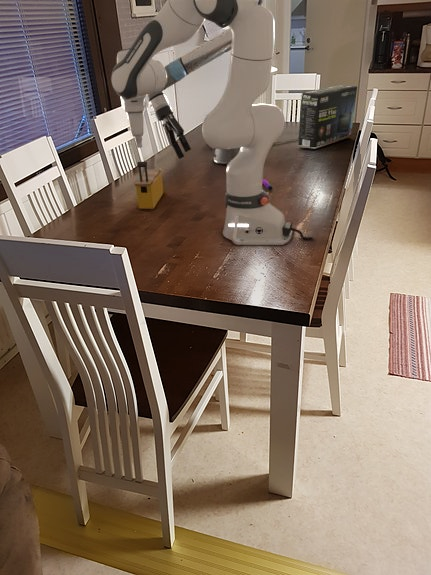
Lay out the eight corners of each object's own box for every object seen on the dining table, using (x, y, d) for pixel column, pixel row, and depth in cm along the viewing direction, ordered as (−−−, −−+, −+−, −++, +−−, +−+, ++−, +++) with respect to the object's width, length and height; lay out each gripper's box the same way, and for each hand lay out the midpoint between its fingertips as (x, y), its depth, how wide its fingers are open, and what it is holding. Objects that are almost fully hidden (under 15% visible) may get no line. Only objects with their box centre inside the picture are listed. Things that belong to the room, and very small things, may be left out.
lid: (150, 186, 166) (147, 163, 162) (135, 186, 166) (132, 164, 162) (161, 171, 181) (159, 150, 177) (147, 171, 182) (144, 150, 178)
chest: (153, 208, 171) (150, 185, 167) (138, 208, 172) (135, 185, 167) (163, 193, 186) (161, 171, 181) (149, 193, 186) (147, 171, 182)
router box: (314, 151, 231) (318, 94, 217) (296, 148, 237) (299, 92, 224) (352, 138, 251) (358, 85, 238) (335, 135, 258) (340, 83, 245)
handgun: (242, 177, 199) (242, 173, 198) (259, 175, 200) (259, 171, 199) (254, 192, 182) (254, 188, 181) (273, 190, 183) (273, 185, 182)
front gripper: (126, 98, 163) (131, 137, 170) (124, 107, 145) (130, 151, 152) (144, 96, 163) (148, 136, 170) (144, 106, 146) (149, 150, 153)
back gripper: (150, 120, 208) (172, 163, 211) (158, 102, 184) (183, 151, 187) (164, 114, 209) (186, 157, 213) (174, 94, 185) (198, 143, 189)
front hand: (139, 144), depth 161 cm, fingers open, 8 cm apart
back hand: (184, 154), depth 200 cm, fingers open, 13 cm apart
